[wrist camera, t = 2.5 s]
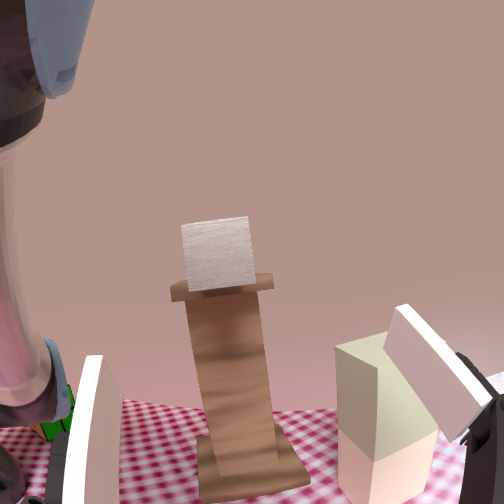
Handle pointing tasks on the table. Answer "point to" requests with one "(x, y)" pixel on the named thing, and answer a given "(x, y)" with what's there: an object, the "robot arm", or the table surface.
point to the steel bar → (218, 254)
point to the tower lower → (384, 472)
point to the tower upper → (377, 400)
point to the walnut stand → (236, 396)
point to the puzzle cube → (56, 423)
